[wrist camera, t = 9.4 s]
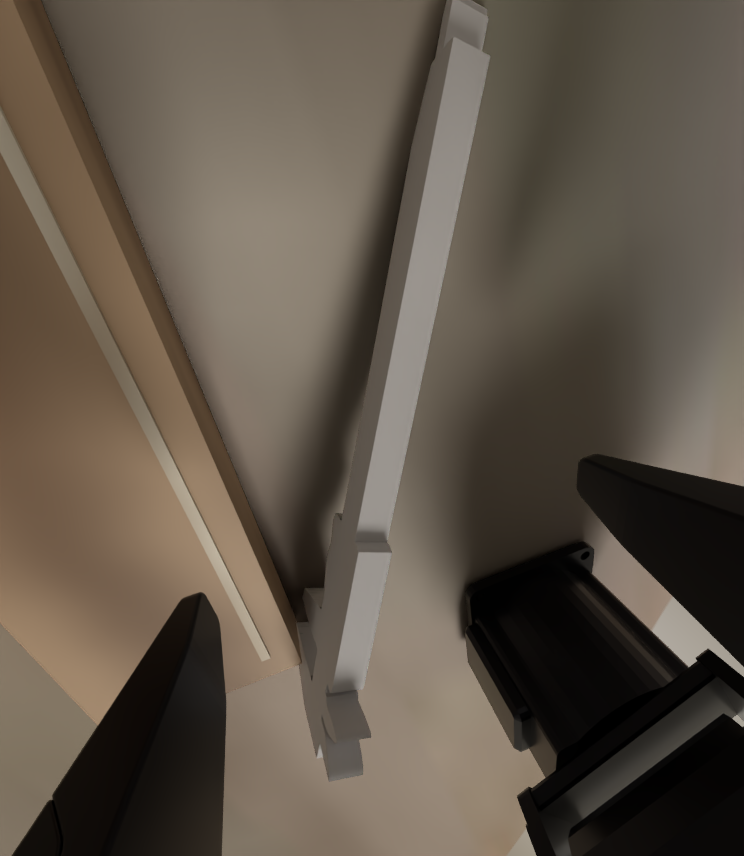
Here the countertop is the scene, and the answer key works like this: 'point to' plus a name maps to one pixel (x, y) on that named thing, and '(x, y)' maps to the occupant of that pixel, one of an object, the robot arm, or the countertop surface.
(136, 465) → the walnut board
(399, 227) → the caliper
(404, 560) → the countertop surface
